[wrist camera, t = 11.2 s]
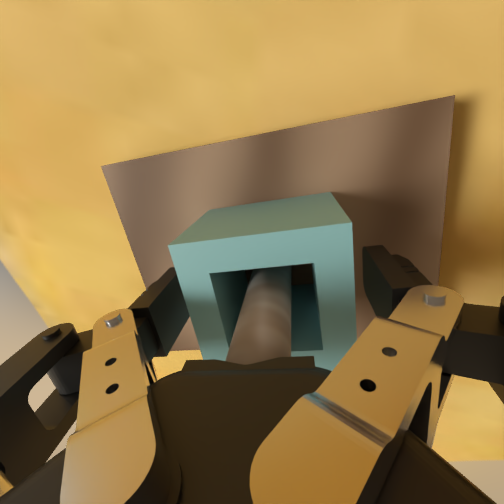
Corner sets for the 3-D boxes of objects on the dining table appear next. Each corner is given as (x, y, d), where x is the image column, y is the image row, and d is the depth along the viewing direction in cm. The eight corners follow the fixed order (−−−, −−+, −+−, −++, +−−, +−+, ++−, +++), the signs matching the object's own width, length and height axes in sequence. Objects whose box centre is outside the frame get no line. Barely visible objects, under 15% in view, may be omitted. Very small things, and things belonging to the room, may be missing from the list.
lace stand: (435, 100, 12) (1479, -178, 1) (421, 322, 16) (654, 654, 6) (118, 163, 15) (-280, 221, 5) (177, 335, 19) (44, 566, 9)
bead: (330, 191, 13) (352, 222, 8) (337, 300, 15) (358, 373, 10) (209, 209, 14) (167, 245, 9) (232, 308, 16) (208, 376, 11)
